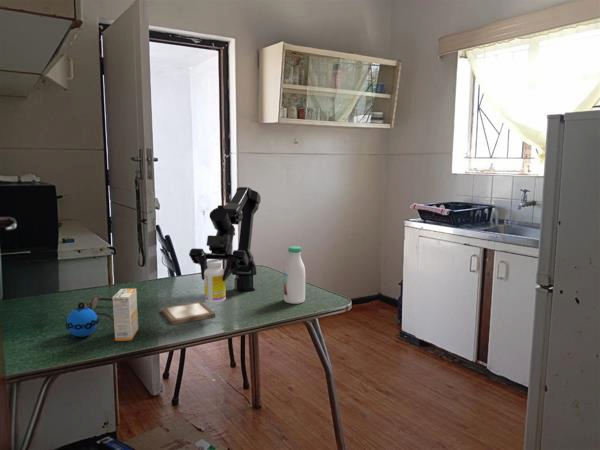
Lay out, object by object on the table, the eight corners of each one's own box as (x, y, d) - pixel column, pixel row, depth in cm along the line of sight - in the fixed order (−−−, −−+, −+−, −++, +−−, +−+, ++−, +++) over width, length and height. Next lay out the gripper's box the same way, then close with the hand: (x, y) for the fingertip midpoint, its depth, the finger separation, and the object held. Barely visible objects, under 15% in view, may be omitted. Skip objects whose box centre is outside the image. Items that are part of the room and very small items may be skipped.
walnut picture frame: (201, 305, 164) (201, 301, 164) (215, 317, 152) (215, 313, 152) (161, 311, 157) (160, 307, 157) (172, 324, 145) (172, 320, 145)
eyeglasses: (98, 306, 164) (98, 292, 163) (139, 307, 162) (139, 293, 162) (75, 320, 149) (74, 305, 149) (119, 322, 148) (118, 307, 147)
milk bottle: (308, 299, 172) (309, 246, 169) (299, 305, 165) (300, 250, 162) (289, 296, 175) (289, 244, 172) (280, 302, 168) (280, 248, 165)
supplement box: (122, 330, 140) (120, 288, 139) (138, 330, 141) (136, 288, 139) (114, 341, 132) (111, 296, 130) (131, 340, 133) (129, 296, 131)
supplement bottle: (229, 298, 152) (228, 260, 150) (218, 304, 146) (218, 264, 144) (211, 296, 155) (210, 258, 153) (200, 302, 149) (199, 262, 146)
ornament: (74, 344, 130) (71, 309, 129) (62, 335, 136) (59, 302, 134) (104, 335, 136) (102, 302, 135) (91, 328, 142) (89, 296, 141)
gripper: (190, 224, 152) (176, 265, 143) (245, 226, 149) (235, 268, 140) (200, 243, 161) (188, 283, 152) (252, 245, 158) (243, 286, 149)
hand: (213, 279), depth 148 cm, fingers closed on supplement bottle, 7 cm apart
